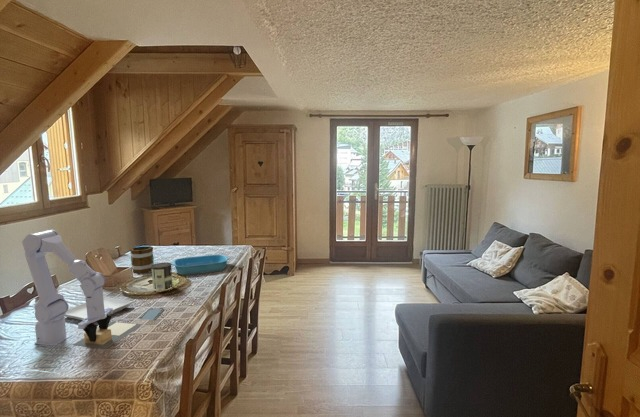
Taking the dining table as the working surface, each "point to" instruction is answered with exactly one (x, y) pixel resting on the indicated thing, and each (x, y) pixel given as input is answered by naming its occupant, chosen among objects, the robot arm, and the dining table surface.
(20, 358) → the dining table surface
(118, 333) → the mat
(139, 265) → the mug
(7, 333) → the dining table surface
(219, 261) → the casserole dish
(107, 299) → the salad plate
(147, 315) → the smartphone
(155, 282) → the coffee can
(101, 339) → the pine block
